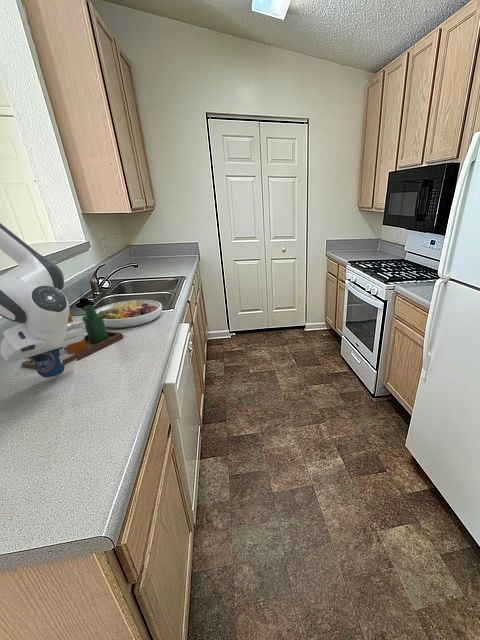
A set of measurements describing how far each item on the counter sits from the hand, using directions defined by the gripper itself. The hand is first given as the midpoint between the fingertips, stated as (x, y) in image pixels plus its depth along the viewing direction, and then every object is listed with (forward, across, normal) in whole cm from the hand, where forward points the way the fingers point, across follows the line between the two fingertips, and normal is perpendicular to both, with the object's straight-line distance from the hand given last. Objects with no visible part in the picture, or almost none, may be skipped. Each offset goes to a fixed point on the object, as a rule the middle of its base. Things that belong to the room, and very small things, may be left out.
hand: (44, 354), depth 101 cm
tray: (+19, -15, -6) cm, 25 cm away
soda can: (+4, 0, +5) cm, 7 cm away
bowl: (+33, -46, -19) cm, 60 cm away
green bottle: (+21, -24, -8) cm, 33 cm away
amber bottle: (+19, -15, -6) cm, 25 cm away
